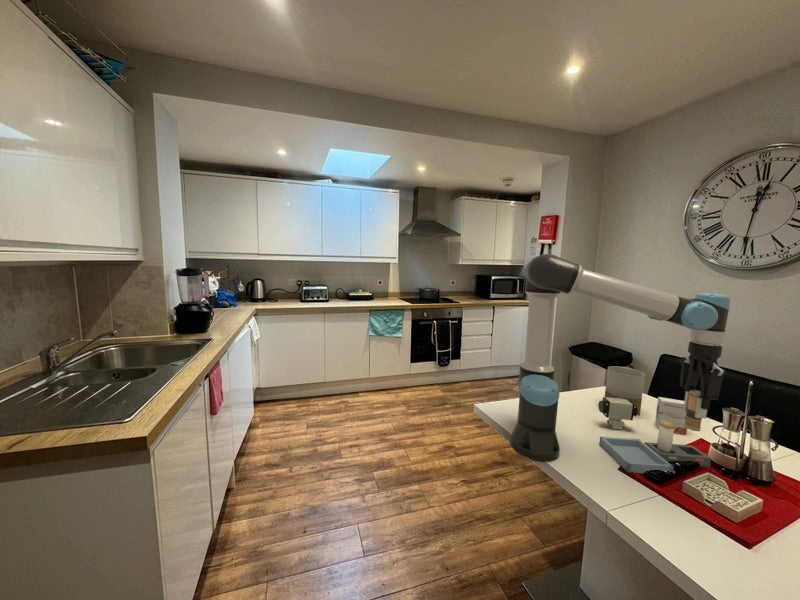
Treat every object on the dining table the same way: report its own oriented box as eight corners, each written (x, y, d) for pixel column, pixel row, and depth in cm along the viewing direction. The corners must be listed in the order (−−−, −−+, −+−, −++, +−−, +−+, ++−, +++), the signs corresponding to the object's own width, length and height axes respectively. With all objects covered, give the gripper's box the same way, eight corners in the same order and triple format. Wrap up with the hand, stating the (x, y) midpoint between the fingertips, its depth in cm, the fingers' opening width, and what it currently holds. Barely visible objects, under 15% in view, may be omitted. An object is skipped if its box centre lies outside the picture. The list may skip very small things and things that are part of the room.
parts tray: (627, 472, 94) (628, 463, 94) (599, 444, 109) (600, 436, 109) (672, 475, 94) (673, 466, 93) (638, 447, 108) (639, 439, 108)
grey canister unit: (604, 401, 146) (608, 364, 144) (639, 409, 138) (644, 370, 136) (602, 411, 135) (607, 371, 133) (640, 420, 128) (645, 378, 126)
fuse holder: (660, 464, 99) (661, 455, 99) (643, 450, 106) (645, 442, 106) (710, 467, 98) (712, 458, 98) (690, 453, 105) (692, 445, 105)
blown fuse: (690, 430, 99) (696, 394, 98) (681, 424, 103) (686, 389, 102) (703, 431, 99) (709, 395, 98) (693, 425, 103) (698, 390, 102)
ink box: (681, 429, 122) (685, 400, 121) (686, 435, 117) (691, 405, 116) (653, 424, 125) (657, 395, 124) (657, 429, 121) (661, 400, 120)
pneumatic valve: (635, 433, 118) (639, 402, 117) (601, 428, 120) (604, 398, 119) (627, 425, 123) (631, 396, 122) (595, 421, 126) (598, 392, 124)
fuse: (660, 460, 101) (665, 425, 100) (652, 453, 105) (656, 419, 103) (673, 461, 101) (678, 426, 99) (664, 454, 104) (669, 420, 103)
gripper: (745, 351, 89) (732, 428, 92) (695, 337, 106) (684, 403, 109) (717, 349, 90) (705, 426, 93) (671, 336, 107) (661, 402, 109)
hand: (694, 414), depth 101 cm, fingers closed on blown fuse, 4 cm apart
